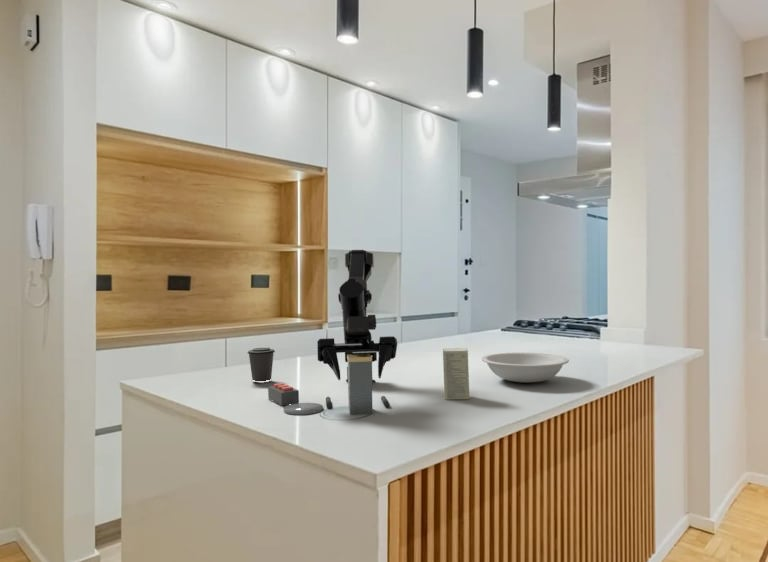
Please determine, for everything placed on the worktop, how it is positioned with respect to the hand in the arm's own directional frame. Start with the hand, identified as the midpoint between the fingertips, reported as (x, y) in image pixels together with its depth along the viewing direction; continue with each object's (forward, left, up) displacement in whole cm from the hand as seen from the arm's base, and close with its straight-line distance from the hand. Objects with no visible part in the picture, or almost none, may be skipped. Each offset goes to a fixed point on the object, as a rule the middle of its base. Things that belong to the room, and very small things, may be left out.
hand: (359, 378), depth 118 cm
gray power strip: (+10, -20, -8) cm, 24 cm away
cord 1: (+3, -10, -8) cm, 13 cm away
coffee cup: (+6, -48, -8) cm, 49 cm away
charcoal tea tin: (0, 0, -8) cm, 8 cm away
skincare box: (-26, +3, -8) cm, 27 cm away
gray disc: (+10, -9, -8) cm, 15 cm away
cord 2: (-8, -2, -8) cm, 12 cm away
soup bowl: (-55, -1, -8) cm, 56 cm away
